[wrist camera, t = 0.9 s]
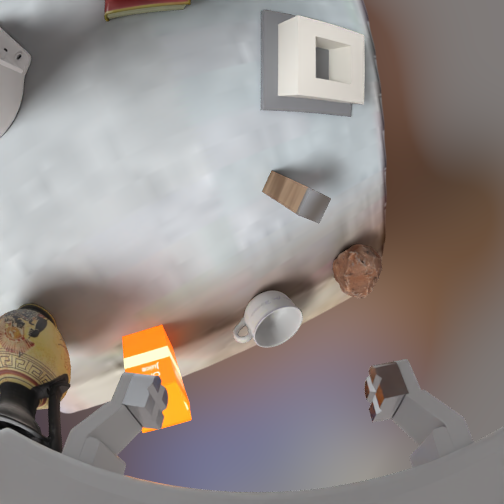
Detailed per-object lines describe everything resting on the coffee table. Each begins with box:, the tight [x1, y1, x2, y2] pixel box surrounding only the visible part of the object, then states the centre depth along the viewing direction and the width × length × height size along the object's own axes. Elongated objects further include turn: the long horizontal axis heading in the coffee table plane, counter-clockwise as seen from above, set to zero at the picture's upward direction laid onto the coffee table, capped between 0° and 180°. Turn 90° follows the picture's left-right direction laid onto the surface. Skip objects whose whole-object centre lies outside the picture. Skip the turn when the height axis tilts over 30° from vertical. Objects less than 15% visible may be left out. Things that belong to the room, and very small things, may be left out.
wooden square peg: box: [262, 171, 331, 223], centre depth 43 cm, size 4×4×12 cm
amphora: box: [0, 304, 71, 453], centre depth 28 cm, size 18×17×30 cm
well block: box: [261, 10, 365, 117], centre depth 37 cm, size 18×18×7 cm
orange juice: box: [122, 325, 191, 433], centre depth 45 cm, size 8×9×20 cm
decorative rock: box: [333, 244, 382, 298], centre depth 60 cm, size 13×11×10 cm
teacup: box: [233, 291, 303, 347], centre depth 56 cm, size 14×11×8 cm
